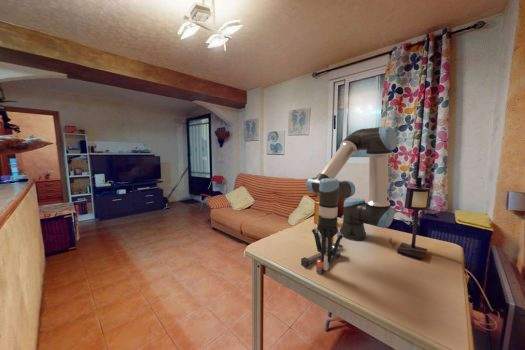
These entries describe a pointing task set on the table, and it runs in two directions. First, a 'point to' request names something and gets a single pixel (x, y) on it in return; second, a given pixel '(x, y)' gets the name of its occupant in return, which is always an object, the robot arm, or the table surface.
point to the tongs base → (315, 259)
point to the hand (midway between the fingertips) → (326, 268)
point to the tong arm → (321, 263)
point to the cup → (326, 240)
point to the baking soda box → (316, 213)
